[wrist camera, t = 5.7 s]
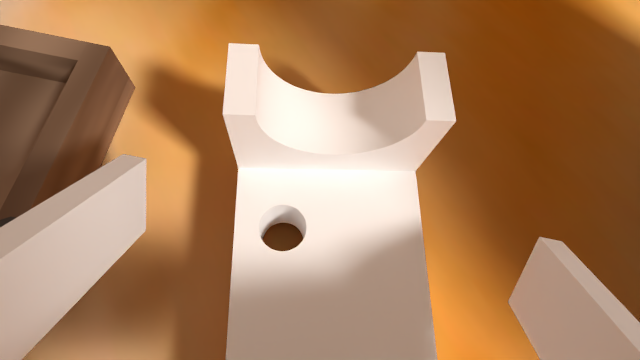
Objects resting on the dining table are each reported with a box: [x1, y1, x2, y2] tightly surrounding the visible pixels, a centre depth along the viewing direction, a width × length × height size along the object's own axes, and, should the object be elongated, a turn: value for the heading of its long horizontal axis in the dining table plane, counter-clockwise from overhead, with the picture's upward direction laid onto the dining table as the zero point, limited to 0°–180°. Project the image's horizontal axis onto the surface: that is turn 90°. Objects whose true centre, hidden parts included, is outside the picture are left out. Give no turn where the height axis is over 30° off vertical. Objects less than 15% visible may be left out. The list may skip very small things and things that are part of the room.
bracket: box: [223, 43, 456, 360], centre depth 14 cm, size 13×7×8 cm, turn 1°
